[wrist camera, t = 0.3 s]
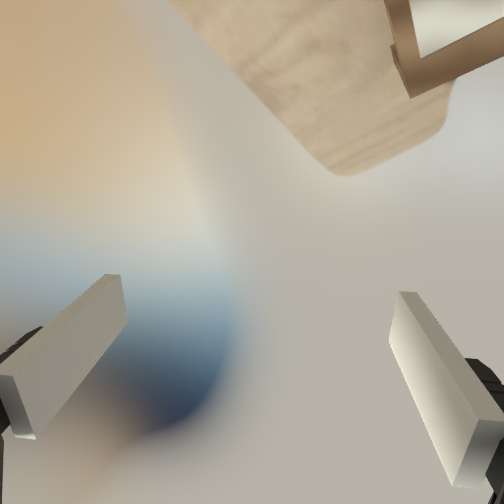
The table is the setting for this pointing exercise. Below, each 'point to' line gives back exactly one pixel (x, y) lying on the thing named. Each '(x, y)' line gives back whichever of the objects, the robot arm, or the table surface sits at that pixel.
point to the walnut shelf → (443, 39)
